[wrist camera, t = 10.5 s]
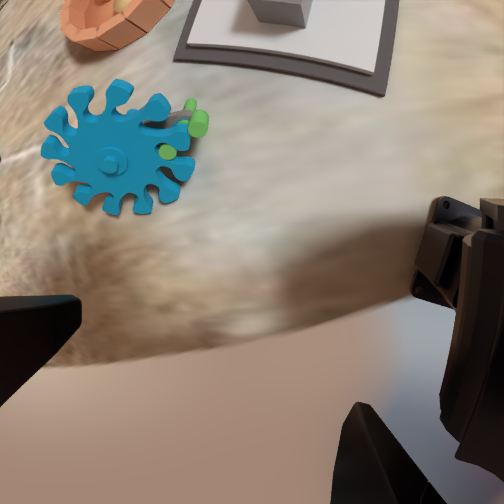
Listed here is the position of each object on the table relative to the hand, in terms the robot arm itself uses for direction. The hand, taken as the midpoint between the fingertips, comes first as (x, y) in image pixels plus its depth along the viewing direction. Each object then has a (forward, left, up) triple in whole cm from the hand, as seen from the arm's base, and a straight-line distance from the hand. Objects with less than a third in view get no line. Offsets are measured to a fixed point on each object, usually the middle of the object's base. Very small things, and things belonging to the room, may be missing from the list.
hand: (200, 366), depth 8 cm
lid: (+3, -19, -12) cm, 22 cm away
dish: (+17, -18, -12) cm, 28 cm away
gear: (+10, -5, -12) cm, 17 cm away
